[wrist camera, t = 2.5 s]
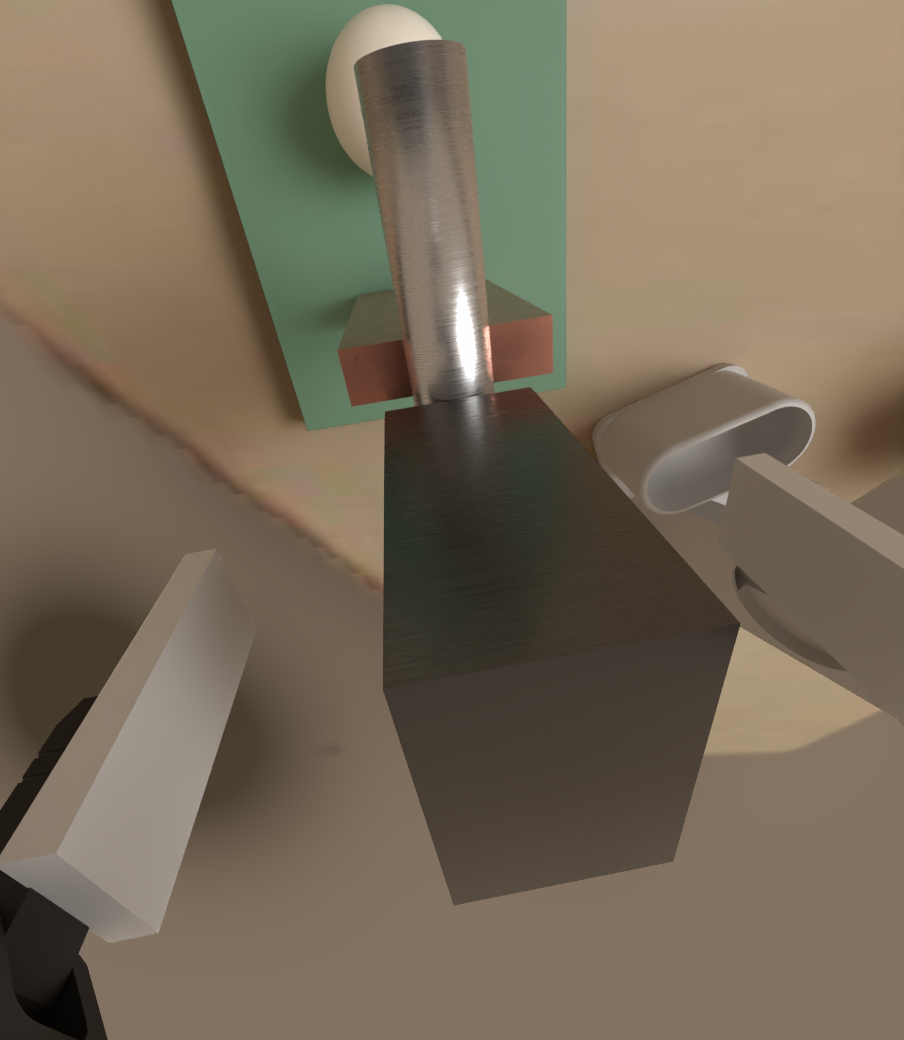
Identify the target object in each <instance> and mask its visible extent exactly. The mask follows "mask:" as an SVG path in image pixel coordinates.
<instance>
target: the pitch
mask: <svg viewBox="0 0 904 1040" xmlns="http://www.w3.org/2000/svg"><path fill="white" fill-rule="evenodd" d="M171 1H172V4H173V7H174V10H175V13H176V16H177V20H178V23H179V26H180V29H181V32H182V35H183V39H184V42H185V45H186V48H187V51H188V54H189V58H190V61H191V64H192V67H193V70H194V73H195V76H196V80H197V83H198V86H199V89H200V92H201V95H202V99H203V102H204V105H205V108H206V111H207V114H208V118H209V121H210V124H211V127H212V130H213V133H214V137H215V140H216V143H217V146H218V149H219V152H220V155H221V159H222V162H223V165H224V168H225V171H226V174H227V178H228V181H229V184H230V187H231V190H232V193H233V197H234V200H235V203H236V206H237V209H238V212H239V216H240V219H241V222H242V225H243V228H244V231H245V234H246V238H247V241H248V244H249V247H250V250H251V253H252V257H253V260H254V263H255V266H256V269H257V272H258V276H259V279H260V282H261V285H262V288H263V291H264V294H265V298H266V301H267V304H268V307H269V310H270V313H271V317H272V320H273V323H274V326H275V329H276V332H277V336H278V339H279V342H280V345H281V348H282V351H283V355H284V358H285V361H286V364H287V367H288V370H289V373H290V377H291V380H292V383H293V386H294V389H295V392H296V396H297V399H298V402H299V405H300V408H301V411H302V415H303V418H304V421H305V424H306V427H307V430H308V431H311V430H317V429H323V428H329V427H335V426H341V425H347V424H353V423H359V422H365V421H371V420H377V419H383V418H385V411H390V410H396V409H402V408H408V407H414V401H413V396H412V397H406V398H400V399H394V400H388V401H382V402H376V403H371V404H365V405H359V406H353V407H352V406H351V402H350V398H349V395H348V391H347V387H346V383H345V379H344V375H343V371H342V367H341V363H340V359H339V355H338V351H337V349H338V347H339V344H340V342H341V339H342V337H343V334H344V331H345V329H346V326H347V324H348V321H349V319H350V316H351V313H352V311H353V308H354V306H355V303H356V300H357V298H358V295H361V294H367V293H374V292H380V291H386V290H392V289H393V284H392V279H391V273H390V268H389V262H388V257H387V251H386V245H385V240H384V234H383V229H382V223H381V218H380V212H379V207H378V201H377V195H376V190H375V184H374V179H373V176H371V175H369V174H368V173H366V172H365V171H363V170H362V169H361V168H360V167H358V166H357V165H356V164H355V163H354V162H353V161H352V160H351V158H350V157H349V156H348V154H347V153H346V152H345V150H344V149H343V147H342V146H341V144H340V142H339V140H338V138H337V136H336V134H335V132H334V129H333V126H332V124H331V120H330V116H329V112H328V107H327V100H326V72H327V65H328V61H329V57H330V53H331V50H332V48H333V45H334V43H335V41H336V39H337V37H338V35H339V34H340V32H341V30H342V29H343V28H344V26H345V25H346V24H347V23H348V22H349V21H350V20H351V19H352V18H353V17H354V16H355V15H357V14H358V13H360V12H361V11H362V10H365V9H367V8H369V7H372V6H376V5H380V4H393V5H399V6H402V7H405V8H408V9H410V10H412V11H414V12H416V13H418V14H419V15H420V16H422V17H423V18H424V19H426V20H427V21H428V22H429V23H430V24H431V25H432V26H433V27H434V28H435V30H436V31H437V32H438V34H439V35H440V36H441V38H442V40H451V41H456V42H459V43H461V44H463V45H464V46H465V47H466V51H467V64H468V76H469V88H470V100H471V112H472V124H473V136H474V148H475V160H476V173H477V185H478V197H479V209H480V221H481V233H482V245H483V257H484V269H485V279H487V280H489V281H491V282H493V283H494V284H496V285H498V286H500V287H502V288H504V289H506V290H507V291H509V292H511V293H513V294H515V295H517V296H518V297H520V298H522V299H524V300H526V301H528V302H529V303H531V304H533V305H535V306H537V307H539V308H541V309H542V310H544V311H546V312H548V313H550V314H552V315H553V373H550V374H544V375H538V376H532V377H526V378H520V379H514V380H508V381H502V382H496V383H494V391H495V393H498V392H504V391H510V390H515V389H521V388H527V387H531V388H532V389H533V390H534V392H535V393H537V392H543V391H549V390H555V389H561V388H566V0H171Z"/></svg>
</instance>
